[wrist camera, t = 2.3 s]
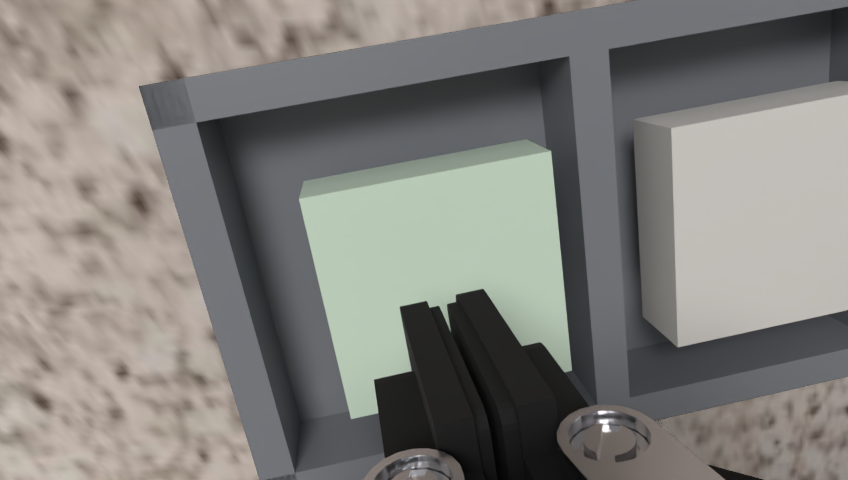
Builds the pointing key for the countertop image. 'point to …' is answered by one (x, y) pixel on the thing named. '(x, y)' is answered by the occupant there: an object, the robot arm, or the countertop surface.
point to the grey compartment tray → (465, 130)
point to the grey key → (743, 213)
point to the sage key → (435, 253)
